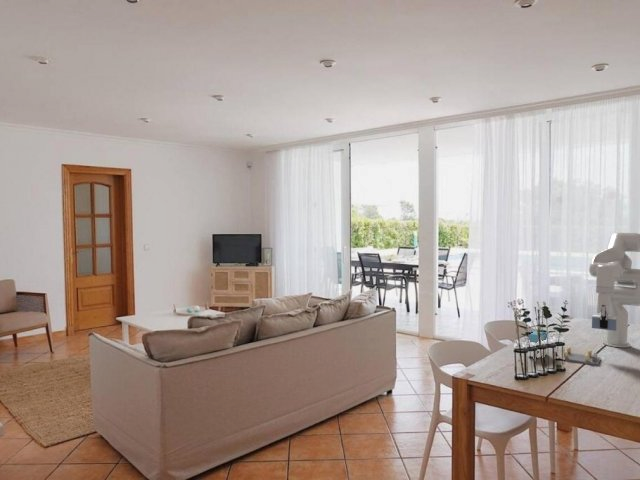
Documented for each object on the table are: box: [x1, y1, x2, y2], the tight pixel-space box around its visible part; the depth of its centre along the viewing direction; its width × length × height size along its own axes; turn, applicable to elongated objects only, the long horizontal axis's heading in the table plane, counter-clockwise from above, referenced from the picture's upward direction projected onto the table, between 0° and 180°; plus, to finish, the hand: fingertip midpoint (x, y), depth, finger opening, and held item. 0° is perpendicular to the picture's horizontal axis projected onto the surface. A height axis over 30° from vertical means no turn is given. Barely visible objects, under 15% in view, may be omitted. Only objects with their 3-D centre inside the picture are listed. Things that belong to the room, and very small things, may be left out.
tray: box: [564, 346, 602, 367], centre depth 228 cm, size 12×18×4 cm, turn 54°
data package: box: [528, 330, 548, 354], centre depth 234 cm, size 12×4×12 cm, turn 133°
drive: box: [591, 314, 617, 331], centre depth 230 cm, size 4×10×6 cm, turn 54°
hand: (604, 326), depth 230 cm, fingers closed on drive, 4 cm apart
